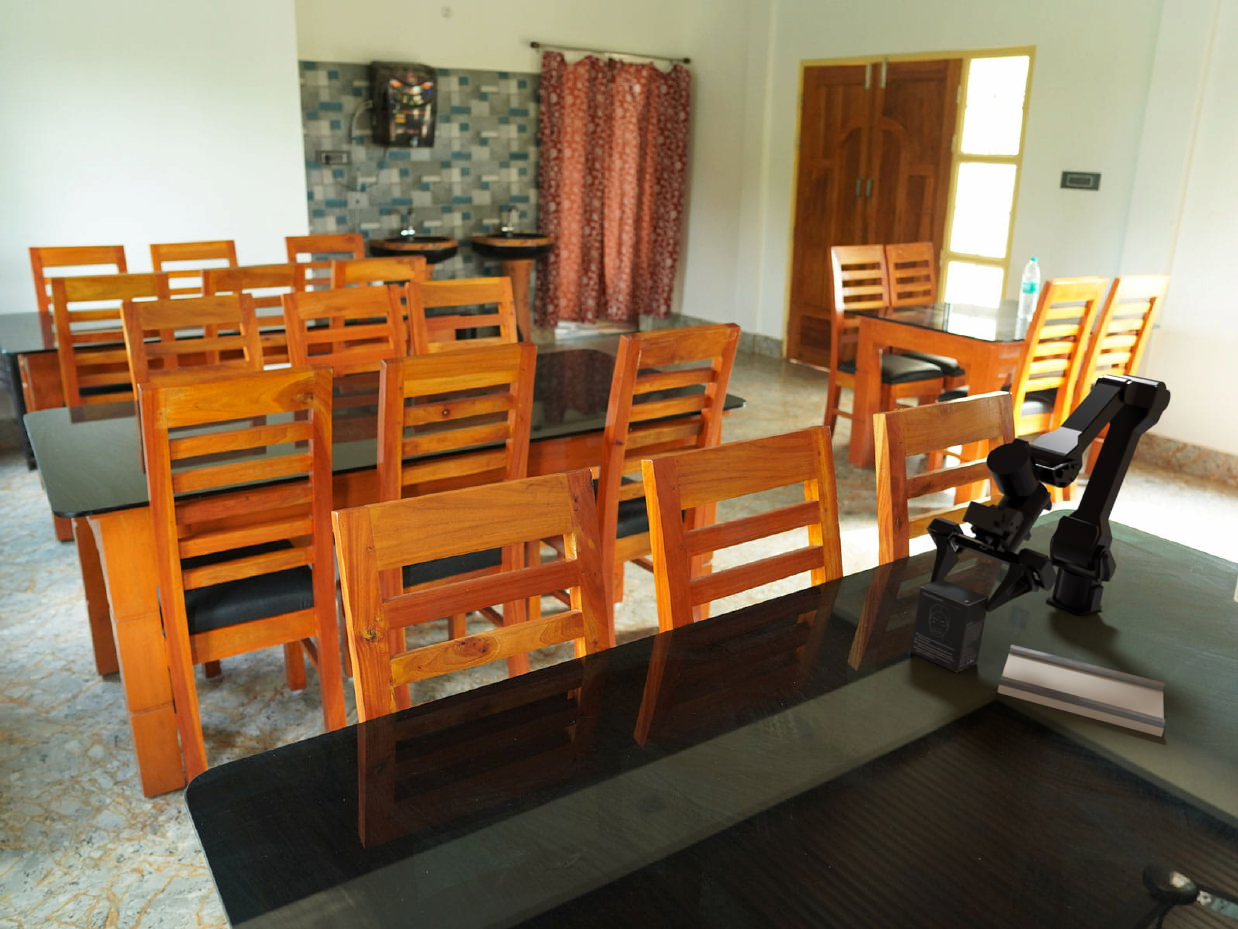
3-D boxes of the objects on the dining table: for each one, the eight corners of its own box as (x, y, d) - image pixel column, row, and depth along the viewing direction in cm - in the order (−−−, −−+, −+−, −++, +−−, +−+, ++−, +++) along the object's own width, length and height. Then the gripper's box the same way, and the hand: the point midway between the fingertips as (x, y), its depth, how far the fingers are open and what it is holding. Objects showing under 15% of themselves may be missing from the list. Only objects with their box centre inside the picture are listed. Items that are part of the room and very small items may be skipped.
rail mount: (997, 692, 136) (1000, 679, 135) (1008, 657, 146) (1011, 644, 146) (1161, 737, 127) (1165, 723, 127) (1161, 695, 138) (1164, 682, 137)
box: (977, 663, 144) (990, 596, 141) (955, 674, 140) (968, 605, 137) (931, 642, 150) (942, 577, 147) (908, 652, 146) (919, 585, 143)
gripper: (944, 465, 149) (886, 546, 145) (1062, 501, 135) (1001, 592, 131) (966, 507, 156) (911, 586, 152) (1080, 546, 142) (1023, 634, 138)
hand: (958, 598), depth 143 cm, fingers open, 9 cm apart
